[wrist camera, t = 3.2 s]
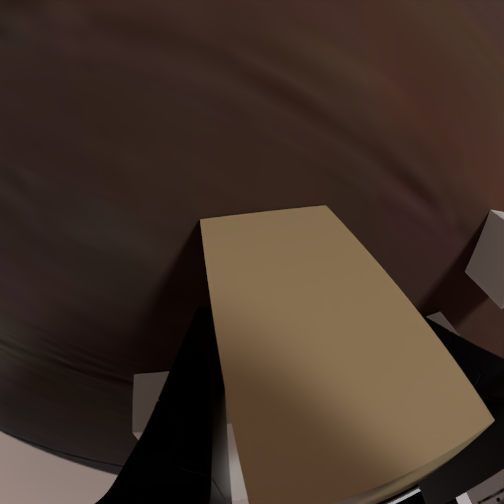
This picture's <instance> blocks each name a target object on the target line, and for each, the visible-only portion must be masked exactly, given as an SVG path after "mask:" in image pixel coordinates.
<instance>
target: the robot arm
mask: <svg viewBox="0 0 504 504" xmlns="http://www.w3.org/2000/svg"><path fill="white" fill-rule="evenodd" d="M420 315H421V316H422V317H423V318H424V320H425V321H426V322H427V324H428V325H429V326H430V327H431V329H432V330H433V331H434V333H435V334H436V335H437V337H438V338H439V339H440V341H441V342H442V343H443V345H444V346H445V347H446V349H447V350H448V352H449V353H450V354H451V356H452V357H453V359H454V360H455V361H456V363H457V364H458V366H459V367H460V368H461V370H462V371H463V373H464V374H465V376H466V377H467V378H468V380H469V381H470V383H471V384H472V386H473V387H474V389H475V390H476V392H477V393H478V395H479V396H480V398H481V399H482V401H483V403H484V404H485V406H486V407H487V409H488V410H489V412H490V414H491V415H492V417H493V418H494V420H495V421H494V422H493V423H492V424H491V425H490V426H489V427H488V428H487V429H485V430H484V431H483V432H482V433H481V434H480V435H479V436H478V437H477V438H476V439H474V440H473V441H472V442H471V443H470V444H469V445H467V446H466V447H465V448H464V449H463V450H461V451H460V452H459V453H458V454H457V455H455V456H454V457H453V458H451V459H450V460H449V461H448V462H446V463H445V464H444V465H442V466H441V467H440V468H438V469H437V470H436V471H434V472H433V473H431V474H430V475H429V476H427V477H426V478H424V479H423V480H421V481H420V482H418V483H417V484H415V485H414V486H412V487H411V488H409V489H407V490H405V491H403V492H401V493H399V494H397V495H394V496H392V497H390V498H388V499H386V500H383V501H381V502H379V503H376V504H388V503H391V502H393V501H395V500H397V499H399V498H401V497H403V496H405V495H407V494H409V493H410V492H412V491H414V490H416V489H418V488H420V490H421V491H420V492H418V493H416V494H414V495H413V496H411V497H408V498H407V499H405V500H403V501H401V502H398V503H396V504H458V503H457V500H456V497H458V496H460V495H461V494H463V493H465V492H467V494H468V496H469V499H470V500H471V503H472V504H504V358H501V357H499V356H497V355H495V354H493V353H491V352H489V351H487V350H485V349H483V348H481V347H479V346H477V345H475V344H473V343H471V342H469V341H468V340H466V339H464V338H462V337H460V336H459V335H457V334H455V333H453V332H452V331H451V332H450V331H449V330H448V329H446V328H445V327H443V326H441V325H439V324H438V323H436V322H434V321H432V320H431V319H429V318H427V317H425V316H424V315H422V314H420ZM158 400H159V401H157V402H156V404H155V407H154V409H153V412H152V414H151V416H150V418H149V420H148V423H147V425H146V427H145V429H144V431H143V433H142V435H141V437H140V438H139V440H138V442H137V444H136V446H135V447H134V449H133V451H132V453H131V454H130V456H129V458H128V459H127V461H126V463H125V465H124V466H123V468H122V470H121V471H120V473H119V475H118V477H117V478H116V480H115V482H114V483H113V485H112V486H111V488H110V489H109V490H108V492H107V493H106V494H105V495H104V496H103V497H102V498H101V499H100V500H99V501H98V502H96V503H95V504H232V495H231V481H230V467H229V451H228V435H227V417H226V397H225V385H224V380H223V374H222V368H221V362H220V356H219V350H218V344H217V338H216V332H215V326H214V319H213V313H212V306H211V305H209V306H202V307H198V308H197V310H196V312H195V314H194V317H193V319H192V321H191V323H190V326H189V328H188V330H187V332H186V335H185V337H184V339H183V342H182V344H181V346H180V348H179V351H178V353H177V355H176V358H175V360H174V362H173V365H172V367H171V369H170V372H169V374H168V376H167V379H166V381H165V383H164V386H163V388H162V391H161V393H160V395H159V398H158Z"/></svg>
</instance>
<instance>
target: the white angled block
mask: <svg viewBox="0 0 504 504" xmlns="http://www.w3.org/2000/svg"><path fill="white" fill-rule="evenodd" d="M465 273H466V274H467V275H468V276H469V277H470V278H471V279H472V280H473V281H474V282H475V283H476V284H477V285H478V286H479V287H480V288H481V289H482V290H483V291H484V292H485V293H486V294H487V295H488V296H489V297H490V298H491V299H492V300H493V301H494V302H495V303H496V304H497V305H498V306H499V307H500V308H501V309H502V308H504V212H500V211H494V210H490V212H489V214H488V217H487V220H486V223H485V225H484V228H483V230H482V233H481V235H480V238H479V240H478V243H477V245H476V248H475V250H474V252H473V255H472V257H471V259H470V261H469V264H468V266H467V268H466V270H465Z"/></svg>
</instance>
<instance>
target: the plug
mask: <svg viewBox="0 0 504 504" xmlns="http://www.w3.org/2000/svg"><path fill="white" fill-rule="evenodd" d="M200 224H201V233H202V241H203V248H204V256H205V264H206V271H207V278H208V286H209V292H210V299H211V306H212V313H213V319H214V326H215V332H216V338H217V344H218V350H219V356H220V362H221V368H222V374H223V380H224V385H225V391H226V396H227V401H228V407H229V412H230V417H231V422H232V427H233V432H234V437H235V442H236V447H237V452H238V457H239V461H240V466H241V471H242V475H243V480H244V484H245V488H246V493H247V497H248V501H249V504H376V503H379V502H381V501H383V500H386V499H388V498H390V497H392V496H394V495H397V494H399V493H401V492H403V491H405V490H407V489H409V488H411V487H412V486H414V485H415V484H417V483H418V482H420V481H421V480H423V479H424V478H426V477H427V476H429V475H430V474H431V473H433V472H434V471H436V470H437V469H438V468H440V467H441V466H442V465H444V464H445V463H446V462H448V461H449V460H450V459H451V458H453V457H454V456H455V455H457V454H458V453H459V452H460V451H461V450H463V449H464V448H465V447H466V446H467V445H469V444H470V443H471V442H472V441H473V440H474V439H476V438H477V437H478V436H479V435H480V434H481V433H482V432H483V431H484V430H485V429H487V428H488V427H489V426H490V425H491V424H492V423H493V422H494V421H495V420H494V418H493V417H492V415H491V414H490V412H489V410H488V409H487V407H486V406H485V404H484V403H483V401H482V399H481V398H480V396H479V395H478V393H477V392H476V390H475V389H474V387H473V386H472V384H471V383H470V381H469V380H468V378H467V377H466V376H465V374H464V373H463V371H462V370H461V368H460V367H459V366H458V364H457V363H456V361H455V360H454V359H453V357H452V356H451V354H450V353H449V352H448V350H447V349H446V347H445V346H444V345H443V343H442V342H441V341H440V339H439V338H438V337H437V335H436V334H435V333H434V331H433V330H432V329H431V327H430V326H429V325H428V324H427V322H426V321H425V320H424V318H423V317H422V316H421V315H420V313H419V312H418V311H417V309H416V308H415V307H414V306H413V304H412V303H411V302H410V301H409V299H408V298H407V297H406V296H405V295H404V293H403V292H402V291H401V290H400V288H399V287H398V286H397V285H396V284H395V282H394V281H393V280H392V279H391V278H390V276H389V275H388V274H387V273H386V272H385V271H384V269H383V268H382V267H381V266H380V265H379V264H378V262H377V261H376V260H375V259H374V258H373V257H372V255H371V254H370V253H369V252H368V251H367V250H366V249H365V248H364V246H363V245H362V244H361V243H360V242H359V241H358V240H357V239H356V237H355V236H354V235H353V234H352V233H351V232H350V231H349V230H348V229H347V228H346V226H345V225H344V224H343V223H342V222H341V221H340V220H339V219H338V218H337V217H336V216H335V215H334V214H333V213H332V211H331V210H330V209H329V208H328V207H327V206H326V205H325V206H314V207H304V208H294V209H285V210H275V211H266V212H257V213H249V214H240V215H232V216H224V217H216V218H208V219H200Z"/></svg>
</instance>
